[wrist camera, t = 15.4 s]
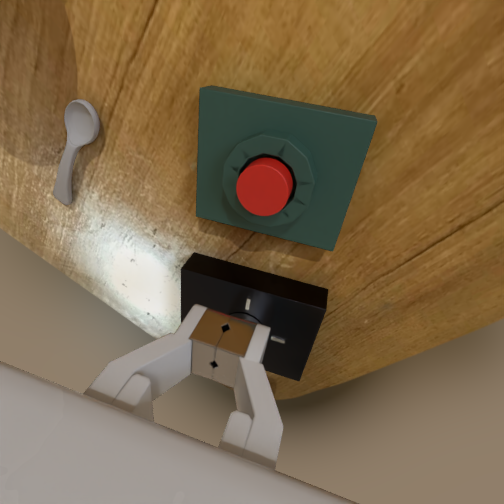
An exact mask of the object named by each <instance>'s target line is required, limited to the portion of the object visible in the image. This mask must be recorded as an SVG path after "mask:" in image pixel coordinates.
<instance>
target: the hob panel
mask: <svg viewBox="0 0 504 504" xmlns="http://www.w3.org/2000/svg"><path fill="white" fill-rule="evenodd" d="M327 297H328V289H325V288H322V287H318V286H314V285H311V284H307V283H303V282H300V281H296V280H292V279H289V278H285V277H282V276H278V275H274V274H271V273H267V272H263V271H260V270H256V269H253V268H249V267H245V266H242V265H238V264H234V263H231V262H227V261H224V260H220V259H216V258H213V257H209V256H205V255H202V254H198V253H195V252H194V253H193V254H192V256H191V257H190V258H189V259H188V261H187V262H186V263H185V264H184V265H183V267H182V268H181V323H182V322H183V320H184V319H185V317H186V316H187V314H188V313H189V311H190V310H191V308H192V307H193V306H194V305H195V304H199V305H201V306H204V307H207V308H211V309H214V310H217V311H219V312H222V313H225V314H228V315H231V314H234V313H242V314H247V315H249V316H252V317H253V318H255V319H256V320H258V321H259V322H260V324H261V325H264V326H267V327H270V328H271V329H270V333H269V337H268V341H267V345H266V349H265V353H264V357H263V360H262V364H263V366H264V369H265V370H266V371H269V372H272V373H275V374H278V375H281V376H284V377H287V378H290V379H293V380H296V381H300V378H301V375H302V373H303V370H304V368H305V365H306V362H307V360H308V357H309V354H310V352H311V349H312V346H313V344H314V341H315V338H316V336H317V333H318V330H319V328H320V325H321V323H322V320H323V317H324V315H325V312H326V307H327Z"/></svg>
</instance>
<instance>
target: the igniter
mask: <svg viewBox="0 0 504 504" xmlns="http://www.w3.org/2000/svg"><path fill="white" fill-rule="evenodd" d="M376 125H377V120H376V117H375V116H373V115H368V114H362V113H357V112H352V111H346V110H341V109H336V108H330V107H325V106H319V105H314V104H309V103H303V102H298V101H293V100H287V99H282V98H276V97H271V96H266V95H260V94H255V93H250V92H244V91H239V90H233V89H228V88H223V87H217V86H207V87H202V88H200V96H199V129H198V162H197V195H196V216H197V217H201V218H204V219H208V220H212V221H216V222H220V223H224V224H228V225H232V226H236V227H240V228H243V229H247V230H251V231H255V232H259V233H263V234H267V235H271V236H275V237H279V238H282V239H286V240H290V241H294V242H298V243H302V244H306V245H310V246H314V247H318V248H321V249H325V250H329V251H333V250H334V247H335V244H336V241H337V238H338V235H339V232H340V229H341V227H342V224H343V221H344V218H345V215H346V212H347V209H348V206H349V203H350V200H351V197H352V194H353V192H354V189H355V186H356V183H357V180H358V177H359V174H360V171H361V168H362V165H363V162H364V160H365V157H366V154H367V151H368V148H369V145H370V142H371V139H372V136H373V133H374V130H375V127H376ZM260 158H273V159H276V160H278V161H280V162H281V163H283V164H284V165H285V166H286V167H287V169H288V170H289V172H290V174H291V176H292V181H293V187H292V191H291V194H290V196H289V198H288V201H287V203H286V205H285V206H284V207H283V209H282V210H280V211H279V212H278V213H276V214H273V215H270V216H259V215H256V214H253V213H251V212H249V211H248V210H247V209H246V208H244V207H243V205H242V204H241V202H240V201H239V199H238V196H237V192H236V184H237V180H238V178H239V176H240V174H241V173H242V172H243V171H244V170H245V169H246V168H247V167H248V165H249V164H250V163H252V162H253V161H255V160H257V159H260Z"/></svg>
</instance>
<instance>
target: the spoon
mask: <svg viewBox="0 0 504 504" xmlns="http://www.w3.org/2000/svg"><path fill="white" fill-rule="evenodd" d="M64 120H65V126H66V129H67V143H66V147H65V150H64V153H63V156H62V158H61V161H60V164H59V168H58V173H57V178H56V183H55V186H54V190H53V195H54V196H55V198H56V199H58V200H59V201H60V202H62V203H63V204H65V205H69V204H71V203H72V172H73V165H74V161H75V158H76V156H77V153H78V151H79V150H80V148H81V147H82V146H84V145H87V144H90V143H92V142H93V141H94V140H95V139H96V138H97V136H98V133H99V129H100V121H99V117H98V114H97V112H96V110H95V109H94V107H93V106H92V105H91V104H90V103H89V102H87V101H85V100H81V99H77V100H74V101H72V102H71V103H69V105H68V106H67V107H66V110H65V115H64Z"/></svg>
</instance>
